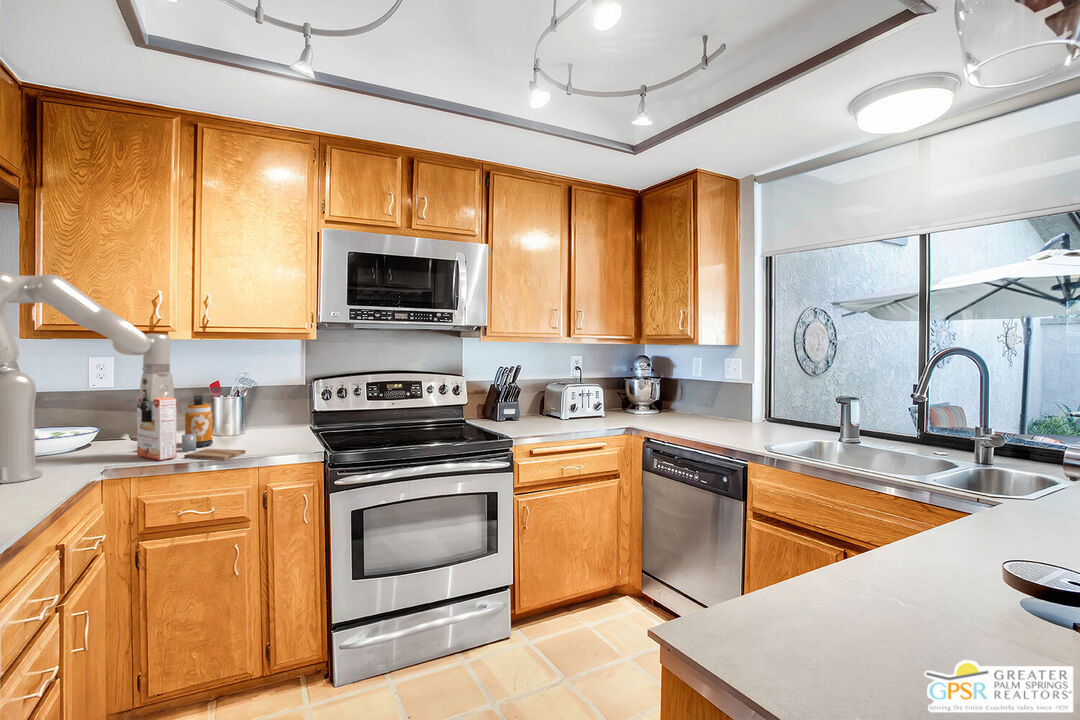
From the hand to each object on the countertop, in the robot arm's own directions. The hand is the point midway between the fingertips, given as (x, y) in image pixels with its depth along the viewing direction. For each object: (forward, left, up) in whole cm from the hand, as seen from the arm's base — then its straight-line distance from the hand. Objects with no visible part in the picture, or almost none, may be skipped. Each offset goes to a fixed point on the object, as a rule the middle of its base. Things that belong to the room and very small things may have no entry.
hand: (156, 420), depth 188 cm
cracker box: (0, 0, -13) cm, 13 cm away
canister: (+22, +2, -13) cm, 26 cm away
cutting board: (+6, -17, -13) cm, 23 cm away
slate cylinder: (+12, -2, -13) cm, 18 cm away
